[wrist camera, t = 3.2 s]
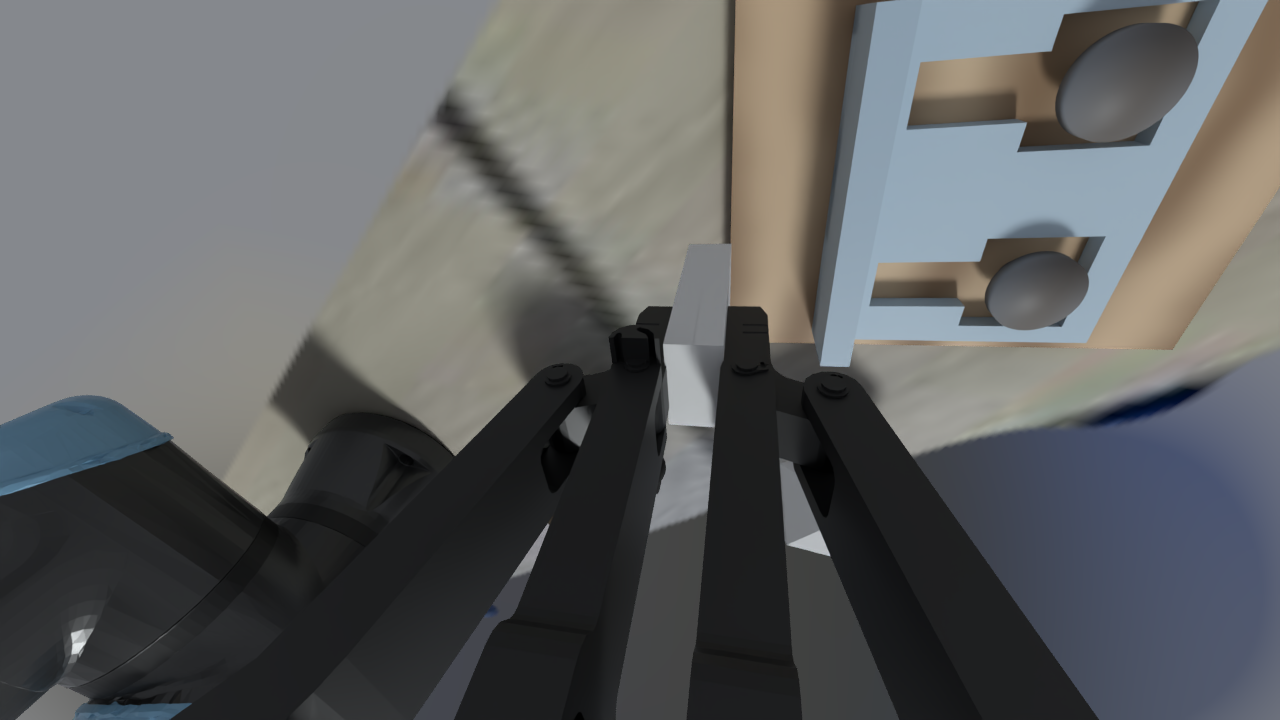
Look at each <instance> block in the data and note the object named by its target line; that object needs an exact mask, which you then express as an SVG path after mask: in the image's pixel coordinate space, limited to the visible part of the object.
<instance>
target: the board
mask: <svg viewBox="0 0 1280 720" xmlns="http://www.w3.org/2000/svg"><path fill="white" fill-rule="evenodd" d="M885 1H894V0H736V7H735V55H734V102H733V150H732V197H731V286H730V306H760V307H761V308H762V309H763V310H764V311H765V312H766V314H767V315H768V328H769V343H815V342H814V338H813V334H812V324H813V317H814V309H815V302H816V295H817V288H818V280H819V273H820V266H821V258H822V251H823V244H824V236H825V229H826V222H827V215H828V207H829V200H830V193H831V185H832V178H833V171H834V163H835V156H836V149H837V142H838V134H839V127H840V120H841V112H842V105H843V98H844V91H845V83H846V76H847V69H848V61H849V54H850V47H851V39H852V32H853V25H854V18H855V10H856V5H862V4H869V3H876V2H885ZM1198 3H1199V1H1193V2H1183V3H1173V4H1163V5H1153V6H1142V7H1132V8H1122V9H1112V10H1102V11H1091V12H1081V13H1071V14H1064V16H1063V19H1062V22H1061V25H1060V27H1059V30H1058V33H1057V36H1056V39H1055V42H1054V45H1053V48H1052V51H1047V52H1035V53H1023V54H1012V55H1000V56H988V57H977V58H965V59H953V60H942V61H930V62H921V63H920V67H919V72H918V77H917V82H916V86H915V91H914V96H913V101H912V105H911V110H910V115H909V120H908V124H907V126H910V125H926V124H942V123H958V122H974V121H990V120H1006V119H1018V120H1021V121H1024V122H1027V125H1026V128H1025V131H1024V133H1023V136H1022V139H1021V142H1020V145H1019V147H1027V146H1046V145H1064V144H1083V143H1102V142H1121V141H1134V140H1135V138H1136V136H1137V134H1138V133H1140V132H1141V131H1143V130H1145V129H1147V128H1149V127H1150V126H1152V125H1153V124H1155V123H1156V122H1157V121H1159V120H1160V119H1161V118H1163V117H1164V116H1165V115H1166V114H1167V113H1168V112H1169V111H1170V110H1171V109H1172V108H1173V107H1174V106H1175V105H1176V104H1177V103H1178V102H1179V101H1180V99H1181V98H1182V97H1183V95H1184V94H1185V92H1186V91H1187V89H1188V88H1189V86H1190V84H1191V82H1192V80H1193V78H1194V75H1195V73H1196V69H1197V66H1198V59H1199V51H1198V46H1197V43H1196V41H1195V38H1194V37H1193V36H1192V34H1191V33H1190V32H1189V31H1188V30H1186V28H1187V26H1188V24H1189V22H1190V20H1191V18H1192V15H1193V13H1194V11H1195V9H1196V7H1197V5H1198ZM1279 187H1280V0H1268V1H1267V3H1266V5H1265V7H1264V9H1263V11H1262V13H1261V15H1260V16H1259V18H1258V20H1257V22H1256V24H1255V26H1254V28H1253V30H1252V32H1251V33H1250V35H1249V37H1248V39H1247V41H1246V43H1245V45H1244V47H1243V48H1242V50H1241V52H1240V54H1239V56H1238V58H1237V60H1236V62H1235V64H1234V65H1233V67H1232V69H1231V71H1230V73H1229V75H1228V77H1227V79H1226V81H1225V82H1224V84H1223V86H1222V88H1221V90H1220V92H1219V94H1218V96H1217V98H1216V99H1215V101H1214V103H1213V105H1212V107H1211V109H1210V111H1209V113H1208V114H1207V116H1206V118H1205V120H1204V122H1203V124H1202V126H1201V128H1200V130H1199V131H1198V133H1197V135H1196V137H1195V139H1194V141H1193V143H1192V145H1191V147H1190V148H1189V150H1188V152H1187V154H1186V156H1185V158H1184V160H1183V162H1182V163H1181V165H1180V167H1179V169H1178V171H1177V173H1176V175H1175V177H1174V179H1173V180H1172V182H1171V184H1170V186H1169V188H1168V190H1167V192H1166V194H1165V196H1164V197H1163V199H1162V201H1161V203H1160V205H1159V207H1158V209H1157V211H1156V212H1155V214H1154V216H1153V218H1152V220H1151V222H1150V224H1149V226H1148V228H1147V229H1146V231H1145V233H1144V235H1143V237H1142V239H1141V241H1140V243H1139V245H1138V246H1137V248H1136V250H1135V252H1134V254H1133V256H1132V258H1131V260H1130V262H1129V263H1128V265H1127V267H1126V269H1125V271H1124V273H1123V275H1122V277H1121V278H1120V280H1119V282H1118V284H1117V286H1116V288H1115V290H1114V292H1113V294H1112V295H1111V297H1110V299H1109V301H1108V303H1107V305H1106V307H1105V309H1104V311H1103V312H1102V314H1101V316H1100V318H1099V320H1098V322H1097V324H1096V326H1095V327H1094V329H1093V331H1092V333H1091V335H1090V337H1089V339H1088V341H1087V343H1048V342H985V341H923V340H861V339H855V340H854V344H880V345H936V346H993V347H1049V348H1105V349H1161V350H1173V348H1174V347H1175V345H1176V344H1177V342H1178V340H1179V339H1180V337H1181V336H1182V334H1183V333H1184V331H1185V330H1186V328H1187V327H1188V325H1189V324H1190V322H1191V321H1192V319H1193V318H1194V316H1195V315H1196V313H1197V312H1198V310H1199V309H1200V307H1201V306H1202V304H1203V303H1204V301H1205V300H1206V298H1207V296H1208V295H1209V293H1210V292H1211V290H1212V289H1213V287H1214V286H1215V284H1216V283H1217V281H1218V280H1219V278H1220V277H1221V275H1222V274H1223V272H1224V271H1225V269H1226V268H1227V266H1228V265H1229V263H1230V262H1231V260H1232V259H1233V257H1234V256H1235V254H1236V253H1237V251H1238V249H1239V248H1240V246H1241V245H1242V243H1243V242H1244V240H1245V239H1246V237H1247V236H1248V234H1249V233H1250V231H1251V230H1252V228H1253V227H1254V225H1255V224H1256V222H1257V221H1258V219H1259V218H1260V216H1261V215H1262V213H1263V212H1264V210H1265V209H1266V207H1267V205H1268V204H1269V202H1270V201H1271V199H1272V198H1273V196H1274V195H1275V193H1276V192H1277V190H1278V189H1279ZM1088 239H1089V237H1047V238H999V239H987V242H986V245H985V248H984V251H983V254H982V257H981V260H980V261H979V262H899V263H878V267H877V272H876V276H875V281H874V286H873V291H872V295H871V298H958V299H959V300H960V301H961V303H962V304H963V305H964V306H965V307H964V310H963V313H962V316H961V317H994V318H995V319H996V320H997V321H998V322H999V323H1000V324H1002V325H1003V326H1005V327H1007V328H1010V329H1014V330H1035V329H1040V328H1044V327H1047V326H1050V325H1052V324H1054V323H1056V322H1058V321H1060V320H1062V319H1064V318H1065V317H1067V316H1068V315H1069V314H1071V313H1072V312H1073V311H1074V310H1075V309H1076V308H1077V307H1078V306H1079V305H1080V304H1081V302H1082V301H1083V299H1084V298H1085V296H1086V294H1087V291H1088V287H1089V277H1088V274H1087V272H1086V270H1085V269H1084V268H1083V267H1082V266H1081V265H1080V264H1079V263H1078V261H1079V259H1080V256H1081V254H1082V252H1083V250H1084V248H1085V246H1086V243H1087V241H1088Z"/></svg>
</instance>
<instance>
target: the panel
mask: <svg viewBox="0 0 1280 720" xmlns="http://www.w3.org/2000/svg"><path fill="white" fill-rule="evenodd" d="M1193 1H1199V3H1198V5H1197V7H1196V9H1195V11H1194V13H1193V15H1192V18H1191V20H1190V22H1189V24H1188V26H1187V28H1186V30H1188V31H1189V32H1190V33H1191V34H1192V36H1193V37H1194V38H1195V41H1196V43H1197V46H1198V51H1199V59H1198V66H1197V69H1196V73H1195V75H1194V78H1193V80H1192V82H1191V84H1190V86H1189V88H1188V89H1187V91H1186V92H1185V94H1184V95H1183V97H1182V98H1181V99H1180V101H1179V102H1178V103H1177V104H1176V105H1175V106H1174V107H1173V108H1172V109H1171V110H1170V111H1169V112H1168V113H1167V114H1166V115H1165V116H1164V117H1163V118H1161V119H1160V120H1159V121H1157V122H1156V123H1155V124H1153V125H1152V126H1150V127H1149V128H1147V129H1145V130H1143V131H1141V132H1140V133H1138V134H1137V136H1136V138H1135V140H1134V141H1121V142H1102V143H1083V144H1064V145H1046V146H1027V147H1019V145H1020V142H1021V139H1022V136H1023V133H1024V131H1025V128H1026V125H1027V122H1024V121H1021V120H1018V119H1006V120H990V121H974V122H958V123H942V124H926V125H910V126H907V124H908V120H909V115H910V110H911V105H912V101H913V96H914V91H915V86H916V82H917V77H918V72H919V67H920V63H921V62H930V61H942V60H953V59H965V58H977V57H988V56H1000V55H1012V54H1023V53H1035V52H1047V51H1052V48H1053V45H1054V42H1055V39H1056V36H1057V33H1058V30H1059V27H1060V25H1061V22H1062V19H1063V16H1064V14H1071V13H1081V12H1091V11H1102V10H1112V9H1122V8H1132V7H1142V6H1153V5H1163V4H1173V3H1183V2H1193ZM1267 1H1268V0H894V1H885V2H876V3H869V4H862V5H856V10H855V18H854V25H853V32H852V39H851V47H850V54H849V61H848V69H847V76H846V83H845V91H844V98H843V105H842V112H841V120H840V127H839V134H838V142H837V149H836V156H835V163H834V171H833V178H832V185H831V193H830V200H829V207H828V215H827V222H826V229H825V236H824V244H823V251H822V258H821V266H820V273H819V280H818V288H817V295H816V302H815V309H814V317H813V324H812V334H813V338H814V342H815V346H816V351H817V355H818V359H819V364H820V366H834V367H849V365H850V360H851V355H852V350H853V345H854V340H855V339H861V340H923V341H985V342H1048V343H1087V341H1088V339H1089V337H1090V335H1091V333H1092V331H1093V329H1094V327H1095V326H1096V324H1097V322H1098V320H1099V318H1100V316H1101V314H1102V312H1103V311H1104V309H1105V307H1106V305H1107V303H1108V301H1109V299H1110V297H1111V295H1112V294H1113V292H1114V290H1115V288H1116V286H1117V284H1118V282H1119V280H1120V278H1121V277H1122V275H1123V273H1124V271H1125V269H1126V267H1127V265H1128V263H1129V262H1130V260H1131V258H1132V256H1133V254H1134V252H1135V250H1136V248H1137V246H1138V245H1139V243H1140V241H1141V239H1142V237H1143V235H1144V233H1145V231H1146V229H1147V228H1148V226H1149V224H1150V222H1151V220H1152V218H1153V216H1154V214H1155V212H1156V211H1157V209H1158V207H1159V205H1160V203H1161V201H1162V199H1163V197H1164V196H1165V194H1166V192H1167V190H1168V188H1169V186H1170V184H1171V182H1172V180H1173V179H1174V177H1175V175H1176V173H1177V171H1178V169H1179V167H1180V165H1181V163H1182V162H1183V160H1184V158H1185V156H1186V154H1187V152H1188V150H1189V148H1190V147H1191V145H1192V143H1193V141H1194V139H1195V137H1196V135H1197V133H1198V131H1199V130H1200V128H1201V126H1202V124H1203V122H1204V120H1205V118H1206V116H1207V114H1208V113H1209V111H1210V109H1211V107H1212V105H1213V103H1214V101H1215V99H1216V98H1217V96H1218V94H1219V92H1220V90H1221V88H1222V86H1223V84H1224V82H1225V81H1226V79H1227V77H1228V75H1229V73H1230V71H1231V69H1232V67H1233V65H1234V64H1235V62H1236V60H1237V58H1238V56H1239V54H1240V52H1241V50H1242V48H1243V47H1244V45H1245V43H1246V41H1247V39H1248V37H1249V35H1250V33H1251V32H1252V30H1253V28H1254V26H1255V24H1256V22H1257V20H1258V18H1259V16H1260V15H1261V13H1262V11H1263V9H1264V7H1265V5H1266V3H1267ZM1047 237H1089V239H1088V241H1087V243H1086V246H1085V248H1084V250H1083V252H1082V254H1081V256H1080V259H1079V261H1078V263H1079V264H1080V265H1081V266H1082V267H1083V268H1084V269H1085V270H1086V272H1087V274H1088V277H1089V287H1088V291H1087V294H1086V296H1085V298H1084V299H1083V301H1082V302H1081V304H1080V305H1079V306H1078V307H1077V308H1076V309H1075V310H1074V311H1073V312H1072V313H1071V314H1069V315H1068V316H1067V317H1065V318H1064V319H1062V320H1060V321H1058V322H1056V323H1054V324H1052V325H1050V326H1047V327H1044V328H1040V329H1035V330H1014V329H1010V328H1007V327H1005V326H1003V325H1002V324H1000V323H999V322H998V321H997V320H996V319H995V318H994V317H961V316H962V313H963V310H964V307H965V306H964V305H963V304H962V303H961V301H960V300H959V299H958V298H871V295H872V291H873V286H874V281H875V276H876V272H877V267H878V263H899V262H979V261H980V260H981V257H982V254H983V251H984V248H985V245H986V242H987V239H999V238H1047Z"/></svg>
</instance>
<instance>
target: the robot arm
mask: <svg viewBox="0 0 1280 720" xmlns="http://www.w3.org/2000/svg"><path fill="white" fill-rule="evenodd" d="M730 286H731V244H689V247H688V251H687V255H686V259H685V263H684V266H683V270H682V274H681V278H680V282H679V285H678V289H677V293H676V297H675V301H674V304H673V307H659V306H648V307H647V308H646V309H645V310H644V311H643V312H641V313H640V314H639V317H638V319H637V322H636V325H629V326H626V327H622V328H619V329H618V330H616V331H614V332H613V333H612V334H611V335H610V336H609V343H610V349H611V356H612V363H613V364H612V366H611V369H610V370H608V371H606V372H602V373H598V374H593V375H587V376H583V372H582V370H581V369H580V368H579V367H578V366H575V365H573V364H564V363H562V364H555V365H552V366H549V367H547V368H544V369H543V370H541V371H540V372H539V373H537V374H536V375H535V376H534V377H533V378H532V379H531V380H530V381H529V383H528V384H527V385H526V386H525V387H524V388H523V389H522V390H521V391H520V392H519V393H518V394H517V395H516V396H515V397H514V398H513V399H512V400H511V401H510V402H509V403H508V404H507V405H506V406H505V407H504V408H503V409H502V410H501V411H500V412H499V413H498V414H497V415H496V416H495V417H494V418H493V419H492V420H491V421H490V422H489V423H488V424H487V425H486V426H485V427H484V428H483V429H482V430H481V431H480V432H479V433H478V434H477V435H476V436H475V437H474V438H473V439H472V440H471V441H470V442H469V443H468V444H467V445H466V446H465V447H464V448H463V449H462V450H461V451H460V452H459V453H458V454H457V455H456V456H455V457H454V458H453V456H452V455H451V454H450V453H449V452H448V451H447V450H446V449H445V448H444V447H442V446H441V445H440V444H439V443H437V442H436V441H435V440H434V439H432V438H431V437H429V436H428V435H426V434H425V433H423V432H421V431H419V430H418V429H416V428H414V427H412V426H410V425H408V424H405V423H403V422H400V421H398V420H395V419H392V418H389V417H385V416H381V415H376V414H368V413H353V414H346V415H343V416H340V417H337V418H335V419H334V420H332V421H331V422H330V423H329V424H328V425H327V426H326V427H325V428H324V429H322V430H321V431H320V432H319V433H318V434H317V435H316V436H315V437H314V439H313V440H312V441H311V442H310V444H309V446H308V448H307V451H306V453H305V458H304V461H303V463H302V465H301V466H300V468H299V470H298V472H297V473H296V475H295V477H294V479H293V480H292V482H291V484H290V486H289V488H288V490H287V492H286V494H285V496H284V498H283V499H282V501H281V502H280V503H279V504H278V505H277V507H276V508H275V509H274V510H273V511H272V512H271V513H270V514H269V515H268V516H265V515H264V514H263V513H262V512H261V511H260V510H258V509H257V508H256V507H255V506H253V505H252V504H251V503H249V502H248V501H247V500H245V499H244V498H243V497H242V496H240V495H239V494H238V493H236V492H235V491H234V490H233V489H231V488H230V487H229V486H227V485H226V484H225V483H224V482H222V481H221V480H220V479H218V478H217V477H216V476H214V475H213V474H212V473H211V472H209V471H208V470H207V469H205V468H204V467H203V466H202V465H201V464H199V463H198V462H197V461H195V460H194V459H193V458H192V457H191V456H189V455H188V454H187V453H185V452H184V451H183V450H182V449H181V448H179V447H178V446H177V445H176V444H174V443H173V442H172V441H171V439H173V438H174V437H173V436H171V435H170V434H169V433H165V432H164V433H162V432H160V431H159V430H157V429H156V428H155V427H153V426H152V425H150V424H149V423H147V422H146V421H145V420H143V419H142V418H140V417H139V416H137V415H136V414H135V413H133V412H132V411H130V410H129V409H128V408H126V407H125V406H123V405H122V404H120V403H118V402H117V401H115V400H112V399H109V398H105V397H102V396H92V395H82V396H74V397H69V398H66V399H62V400H59V401H57V402H54V403H52V404H50V405H47V406H44V407H42V408H40V409H37V410H35V411H32V412H30V413H28V414H25V415H23V416H21V417H18V418H16V419H13V420H12V421H9V422H6V423H4V424H2V425H0V720H15V719H17V718H18V717H19V716H20V715H21V714H22V713H23V712H24V711H25V710H27V709H28V708H29V707H30V706H31V705H32V704H33V703H34V702H35V701H37V700H38V699H39V698H40V697H41V696H42V695H43V694H45V693H46V692H47V691H48V690H49V689H50V688H52V687H53V686H55V685H56V684H59V685H61V686H64V687H66V688H69V689H71V690H73V691H75V692H78V693H80V694H82V695H84V696H86V697H88V698H89V701H88V702H87V703H84V704H82V705H81V706H80V707H79V708H78V709H77V710H76V712H75V717H74V719H73V720H413V719H414V718H415V716H416V714H417V713H418V712H419V710H420V709H421V707H422V706H423V704H424V703H425V701H426V700H427V699H428V697H429V696H430V694H431V693H432V691H433V690H434V688H435V687H436V685H437V684H438V683H439V681H440V680H441V678H442V677H443V675H444V674H445V672H446V671H447V669H448V668H449V667H450V665H451V664H452V662H453V660H454V659H455V658H456V656H457V655H458V653H459V652H460V650H461V649H462V648H463V646H464V645H465V643H466V642H467V640H468V639H469V637H470V636H471V634H472V633H473V631H474V630H475V629H476V627H477V626H478V624H479V623H480V621H481V620H482V618H483V617H484V615H485V614H486V613H487V611H488V610H489V608H490V607H491V605H492V604H493V602H494V601H495V599H496V598H497V596H498V595H499V594H500V592H501V591H502V589H503V588H504V586H505V585H506V583H507V582H508V580H509V579H510V577H511V576H512V575H513V573H514V572H515V570H516V569H517V567H518V566H519V564H520V563H521V561H522V560H523V559H524V557H525V556H526V554H527V553H528V551H529V550H530V548H531V547H532V545H533V544H534V542H535V541H536V540H537V538H538V537H539V535H540V534H541V532H542V531H543V529H544V528H545V526H546V525H547V523H548V522H549V521H550V519H551V518H552V516H553V518H552V520H551V523H550V525H549V528H548V530H547V533H546V536H545V538H544V541H543V543H542V546H541V548H540V551H539V554H538V556H537V559H536V561H535V564H534V566H533V569H532V572H531V574H530V577H529V580H528V582H527V584H526V587H525V590H524V592H523V595H522V597H521V600H520V602H519V605H518V607H517V609H516V611H515V613H514V615H513V616H512V617H511V618H510V619H507V620H504V621H501V622H500V623H499V624H498V625H497V626H496V627H495V629H494V630H493V631H492V633H491V635H490V637H489V639H488V641H487V643H486V645H485V647H484V649H483V652H482V654H481V657H480V659H479V661H478V664H477V666H476V668H475V671H474V673H473V676H472V678H471V681H470V683H469V685H468V688H467V690H466V692H465V695H464V697H463V700H462V702H461V704H460V707H459V709H458V712H457V714H456V716H455V719H454V720H616V703H617V696H618V689H619V685H620V679H621V674H622V669H623V664H624V659H625V653H626V648H627V643H628V638H629V632H630V627H631V622H632V617H633V612H634V606H635V601H636V596H637V591H638V585H639V580H640V575H641V570H642V565H643V559H644V554H645V549H646V543H647V538H648V533H649V528H650V523H651V518H652V512H653V507H654V502H655V497H656V492H657V486H658V481H659V476H660V471H661V466H662V460H663V455H664V450H665V445H666V439H667V433H666V421H667V416H668V418H669V424H672V425H688V426H704V427H715V433H714V445H713V456H712V468H711V479H710V491H709V502H708V514H707V526H706V537H705V549H704V561H703V572H702V583H701V594H700V605H699V617H698V628H697V640H696V646H695V649H694V653H693V659H692V668H691V677H690V688H689V699H688V710H687V720H802V711H801V697H800V687H799V678H798V672H797V668H796V666H795V664H794V662H793V656H792V646H791V630H790V614H789V599H788V584H787V570H786V569H787V568H786V554H785V537H784V522H783V506H782V491H781V475H780V460H779V458H781V459H785V460H788V461H791V462H793V466H794V470H795V473H796V475H797V478H798V480H799V482H800V485H801V487H802V489H803V492H804V494H805V497H806V499H807V501H808V504H809V506H810V508H811V511H812V513H813V516H814V518H815V520H816V523H817V525H818V527H819V530H820V532H821V535H822V537H823V539H824V542H825V544H826V546H827V549H828V551H829V554H830V556H831V558H832V561H833V563H834V565H835V568H836V570H837V572H838V575H839V577H840V580H841V582H842V584H843V587H844V589H845V592H846V594H847V596H848V599H849V601H850V603H851V606H852V608H853V611H854V613H855V615H856V618H857V620H858V622H859V625H860V627H861V630H862V632H863V634H864V637H865V639H866V641H867V644H868V646H869V648H870V651H871V653H872V656H873V658H874V660H875V663H876V665H877V668H878V670H879V672H880V674H881V677H882V679H883V682H884V684H885V687H886V689H887V691H888V694H889V696H890V699H891V701H892V703H893V705H894V708H895V710H896V713H897V715H898V718H899V720H1099V719H1098V718H1097V716H1096V715H1095V713H1094V712H1093V711H1092V709H1091V708H1090V706H1089V705H1088V704H1087V703H1086V701H1085V699H1084V698H1083V697H1082V695H1081V694H1080V693H1079V691H1078V690H1077V688H1076V687H1075V685H1074V684H1073V683H1072V681H1071V680H1070V678H1069V677H1068V676H1067V674H1066V673H1065V671H1064V670H1063V668H1062V667H1061V666H1060V664H1059V663H1058V661H1057V660H1056V659H1055V657H1054V656H1053V655H1052V653H1051V652H1050V650H1049V649H1048V648H1047V646H1046V645H1045V643H1044V642H1043V640H1042V639H1041V638H1040V636H1039V635H1038V633H1037V632H1036V631H1035V629H1034V628H1033V626H1032V625H1031V623H1030V622H1029V621H1028V619H1027V618H1026V616H1025V615H1024V614H1023V612H1022V611H1021V610H1020V608H1019V607H1018V605H1017V604H1016V603H1015V601H1014V600H1013V598H1012V597H1011V595H1010V594H1009V593H1008V591H1007V590H1006V588H1005V587H1004V586H1003V584H1002V583H1001V581H1000V580H999V579H998V577H997V576H996V574H995V573H994V571H993V570H992V569H991V567H990V566H989V564H988V563H987V562H986V560H985V559H984V557H983V556H982V555H981V553H980V552H979V550H978V549H977V548H976V546H975V545H974V543H973V542H972V541H971V539H970V538H969V536H968V535H967V533H966V532H965V531H964V529H963V528H962V526H961V525H960V524H959V523H958V521H957V520H956V518H955V517H954V515H953V514H952V512H951V511H950V510H949V508H948V507H947V505H946V504H945V503H944V501H943V500H942V498H941V497H940V496H939V494H938V493H937V491H936V490H935V488H934V487H933V486H932V485H931V483H930V482H929V480H928V479H927V477H926V476H925V475H924V473H923V472H922V470H921V469H920V468H919V466H918V465H917V463H916V462H915V460H914V459H913V458H912V456H911V455H910V453H909V452H908V451H907V449H906V448H905V446H904V445H903V443H902V442H901V441H900V439H899V438H898V436H897V435H896V434H895V432H894V431H893V429H892V428H891V427H890V425H889V424H888V422H887V421H886V420H885V418H884V417H883V415H882V414H881V413H880V411H879V410H878V408H877V407H876V406H875V404H874V403H873V401H872V400H871V398H870V397H869V396H868V394H867V393H866V391H865V390H864V389H863V387H862V386H861V385H860V384H859V383H858V382H857V381H856V380H855V379H853V378H851V377H849V376H847V375H844V374H840V373H836V372H820V373H816V374H813V375H811V376H810V377H808V378H806V380H805V382H804V383H803V382H799V381H795V380H792V379H789V378H786V377H784V376H782V375H780V374H779V373H778V372H777V371H775V369H774V368H773V366H772V364H771V360H770V344H769V328H768V315H767V314H766V312H765V311H764V310H763V309H762V308H761V307H760V306H730Z"/></svg>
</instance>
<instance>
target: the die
mask: <svg viewBox="0 0 1280 720" xmlns="http://www.w3.org/2000/svg"><path fill="white" fill-rule="evenodd" d="M779 460H780V475H781V491H782V506H783V522H784V537H785V542H786V544H787V545H790V546H793V547H797V548H801V549H805V550H809V551H813V552H816V553H820V554H824V555H828V556H830V554H829V551H828V549H827V546H826V544H825V542H824V539H823V537H822V535H821V532H820V530H819V527H818V525H817V523H816V520H815V518H814V516H813V513H812V511H811V508H810V506H809V504H808V501H807V499H806V497H805V494H804V492H803V489H802V487H801V485H800V482H799V480H798V478H797V475H796V473H795V470H794V466H793V462H791V461H788V460H785V459H781V458H779Z"/></svg>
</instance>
